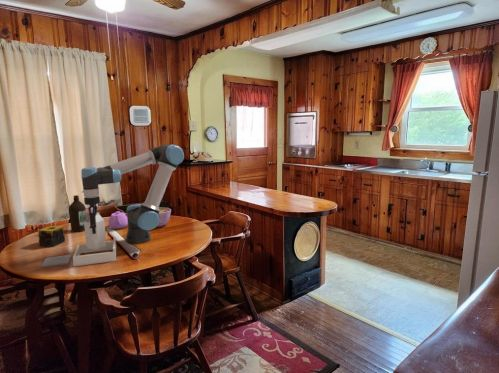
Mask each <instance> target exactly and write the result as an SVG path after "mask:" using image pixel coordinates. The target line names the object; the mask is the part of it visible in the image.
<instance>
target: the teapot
mask: <svg viewBox="0 0 499 373" xmlns="http://www.w3.org/2000/svg"><path fill="white" fill-rule="evenodd" d="M108 226H109V228H110V227H111V228H110V229H112V228H113V229H112V230H116V229H117V230H118V229H125V228H126V227H128V220H127V214H126V213H125V212H123V211H122V212H121V211H119V210H118V211H115V212H113V213H111V215H110V217H109V219H108Z"/></svg>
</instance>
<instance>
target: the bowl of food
mask: <svg viewBox="0 0 499 373" xmlns="http://www.w3.org/2000/svg"><path fill="white" fill-rule="evenodd" d="M159 210H160V212H159V214H158V216H159V223H158V225H157V226H156V227H155V228H160V227H161V228H162V227H164V226H165V225H167V223H168V222H169V221H170V217H171V212H172V209H171V208H169V207H160V206H159Z"/></svg>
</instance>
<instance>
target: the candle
mask: <svg viewBox="0 0 499 373" xmlns="http://www.w3.org/2000/svg"><path fill="white" fill-rule="evenodd" d="M64 230H65V228H64V226H59V225H49V226H46V227H43V228H40V229H37V234H38V245H39V246H40V247H51V248H52V247H56V246H58V245H61V244H63V243H65V242H66V238H65V231H64Z"/></svg>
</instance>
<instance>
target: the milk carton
mask: <svg viewBox="0 0 499 373" xmlns="http://www.w3.org/2000/svg"><path fill="white" fill-rule="evenodd" d="M84 227H85V231H84V233H85V234H84V235H85V244H86V245H87V248H89V249H94V250H97V249H99V248H102V247H104V246H106V242H107V236H106V226H105V219H104V218H103V217H102V216H101V214H100V212H98V211H97V215H96V227H97V236H98V239H95V240H92V234H91V228H89V227H90V215H89V214H88V215H87V217H86V220H85V221H84Z"/></svg>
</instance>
